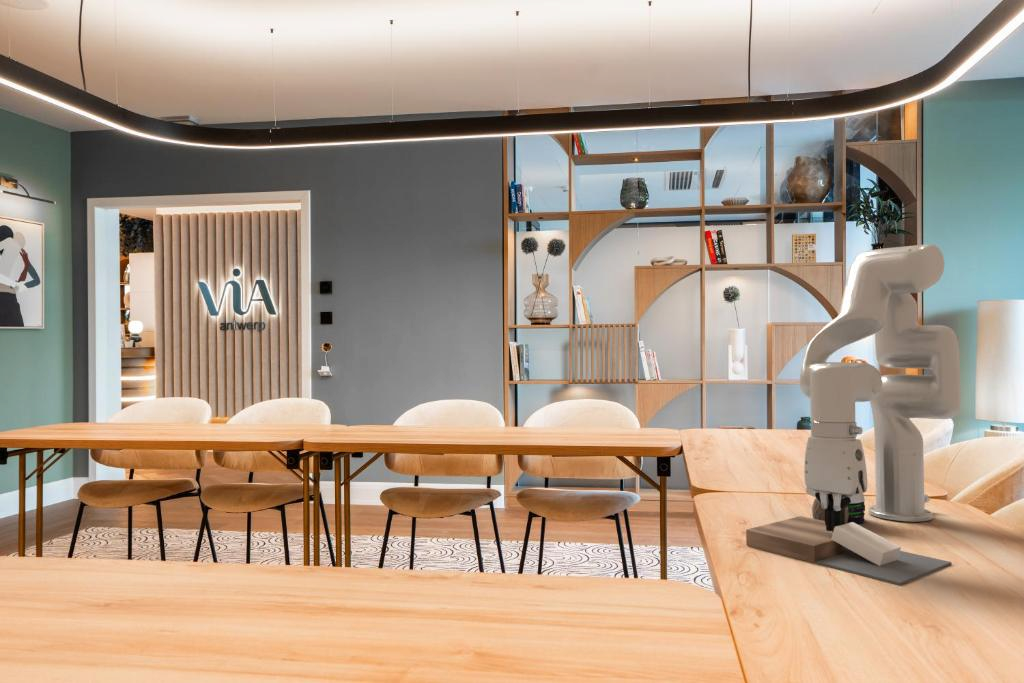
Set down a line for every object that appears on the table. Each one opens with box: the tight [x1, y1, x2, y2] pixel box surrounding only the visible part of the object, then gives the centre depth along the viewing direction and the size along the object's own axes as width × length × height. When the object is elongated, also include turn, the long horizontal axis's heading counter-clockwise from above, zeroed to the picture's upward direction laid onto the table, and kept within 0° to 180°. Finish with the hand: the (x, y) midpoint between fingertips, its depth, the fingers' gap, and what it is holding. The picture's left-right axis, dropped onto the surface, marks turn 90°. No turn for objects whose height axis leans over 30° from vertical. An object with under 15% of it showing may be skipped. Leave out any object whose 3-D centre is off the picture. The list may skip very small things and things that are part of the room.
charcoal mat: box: [816, 550, 952, 586], centre depth 119 cm, size 18×14×1 cm
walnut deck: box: [745, 515, 851, 564], centre depth 131 cm, size 18×14×3 cm
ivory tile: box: [831, 522, 902, 566], centre depth 122 cm, size 6×9×2 cm, turn 35°
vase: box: [811, 494, 849, 524], centre depth 143 cm, size 7×7×9 cm
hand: (835, 530), depth 127 cm, fingers closed
